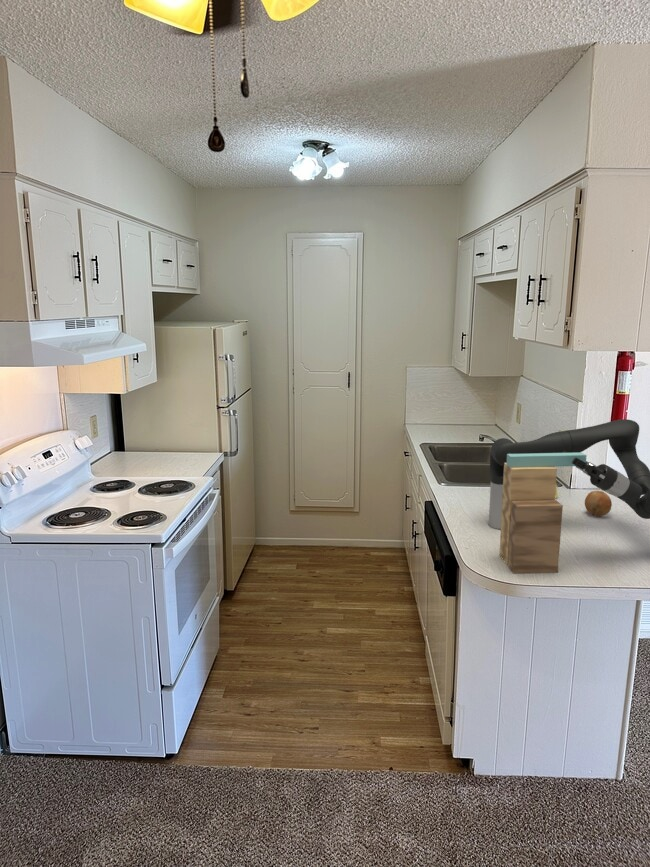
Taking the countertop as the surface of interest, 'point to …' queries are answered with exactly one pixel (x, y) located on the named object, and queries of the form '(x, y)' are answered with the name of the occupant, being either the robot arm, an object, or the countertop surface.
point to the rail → (543, 459)
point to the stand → (523, 494)
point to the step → (535, 536)
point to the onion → (598, 503)
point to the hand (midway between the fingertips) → (568, 456)
